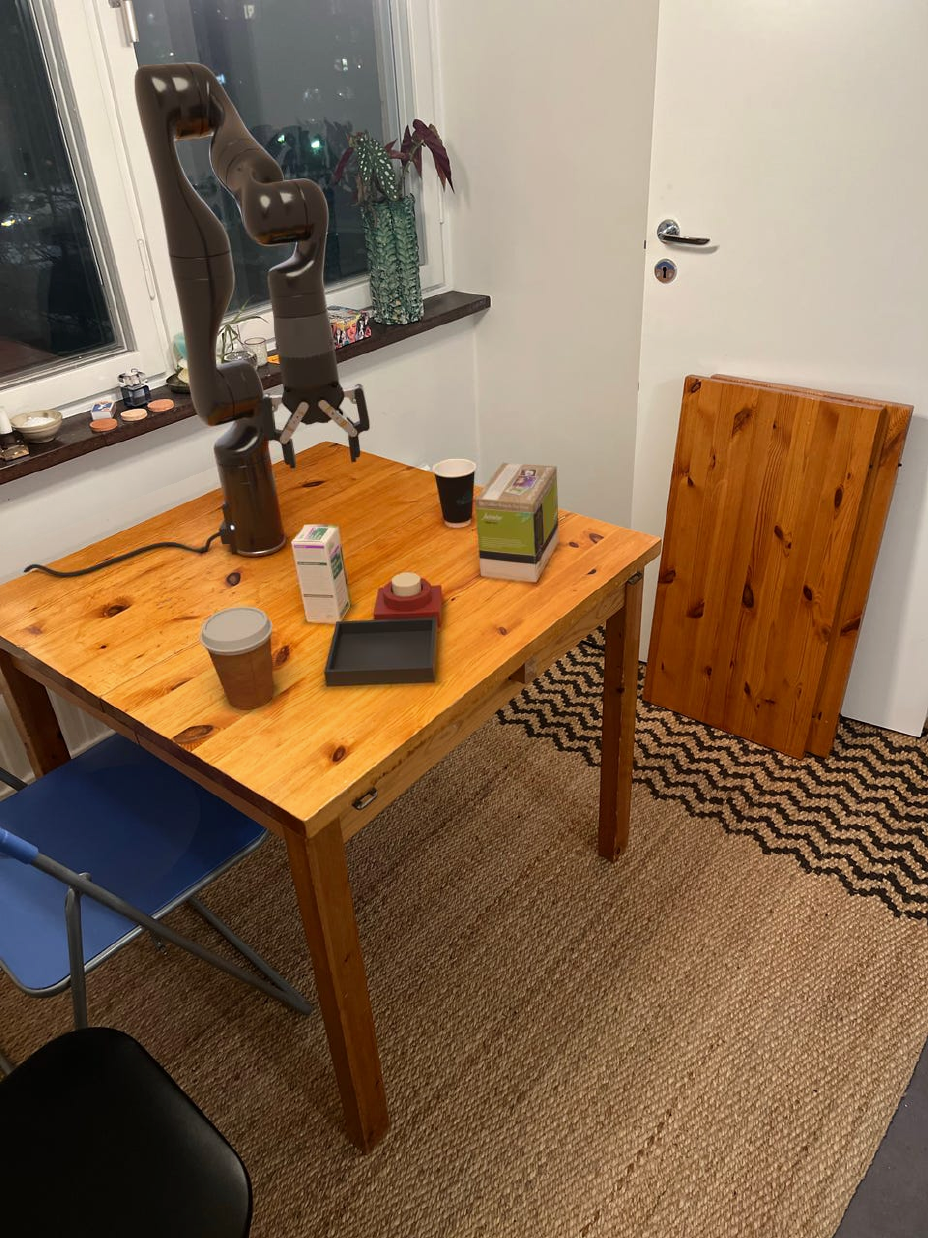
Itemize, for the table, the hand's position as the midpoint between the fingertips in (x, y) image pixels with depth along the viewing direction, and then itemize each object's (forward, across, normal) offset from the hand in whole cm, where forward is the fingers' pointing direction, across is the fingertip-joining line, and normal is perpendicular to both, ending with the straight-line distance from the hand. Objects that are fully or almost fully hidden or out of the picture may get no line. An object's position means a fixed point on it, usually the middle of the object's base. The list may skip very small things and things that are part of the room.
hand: (323, 463), depth 129 cm
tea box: (+26, -30, -15) cm, 42 cm away
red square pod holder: (+26, -10, 0) cm, 28 cm away
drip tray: (+27, -5, +11) cm, 29 cm away
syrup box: (+26, +3, -3) cm, 27 cm away
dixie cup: (+26, -20, -32) cm, 46 cm away
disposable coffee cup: (+27, +14, +17) cm, 34 cm away
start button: (+22, -10, 0) cm, 24 cm away
